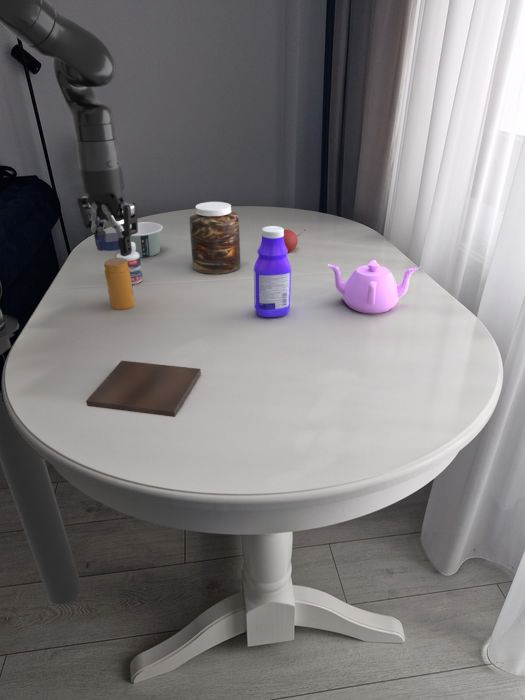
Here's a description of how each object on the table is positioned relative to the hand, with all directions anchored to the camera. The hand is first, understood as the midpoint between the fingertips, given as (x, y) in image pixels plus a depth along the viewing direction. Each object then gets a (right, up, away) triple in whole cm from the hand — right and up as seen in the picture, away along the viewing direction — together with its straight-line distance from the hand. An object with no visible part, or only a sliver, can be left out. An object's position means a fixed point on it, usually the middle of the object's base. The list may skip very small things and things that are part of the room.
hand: (114, 252), depth 103 cm
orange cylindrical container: (0, -10, +5) cm, 11 cm away
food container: (-3, +7, +35) cm, 36 cm away
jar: (+18, +1, +25) cm, 31 cm away
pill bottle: (-1, -4, +17) cm, 18 cm away
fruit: (+37, +7, +35) cm, 52 cm away
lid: (0, +2, -1) cm, 3 cm away
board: (+12, -26, -23) cm, 36 cm away
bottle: (+32, -12, +1) cm, 34 cm away
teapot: (+52, -10, +4) cm, 53 cm away
